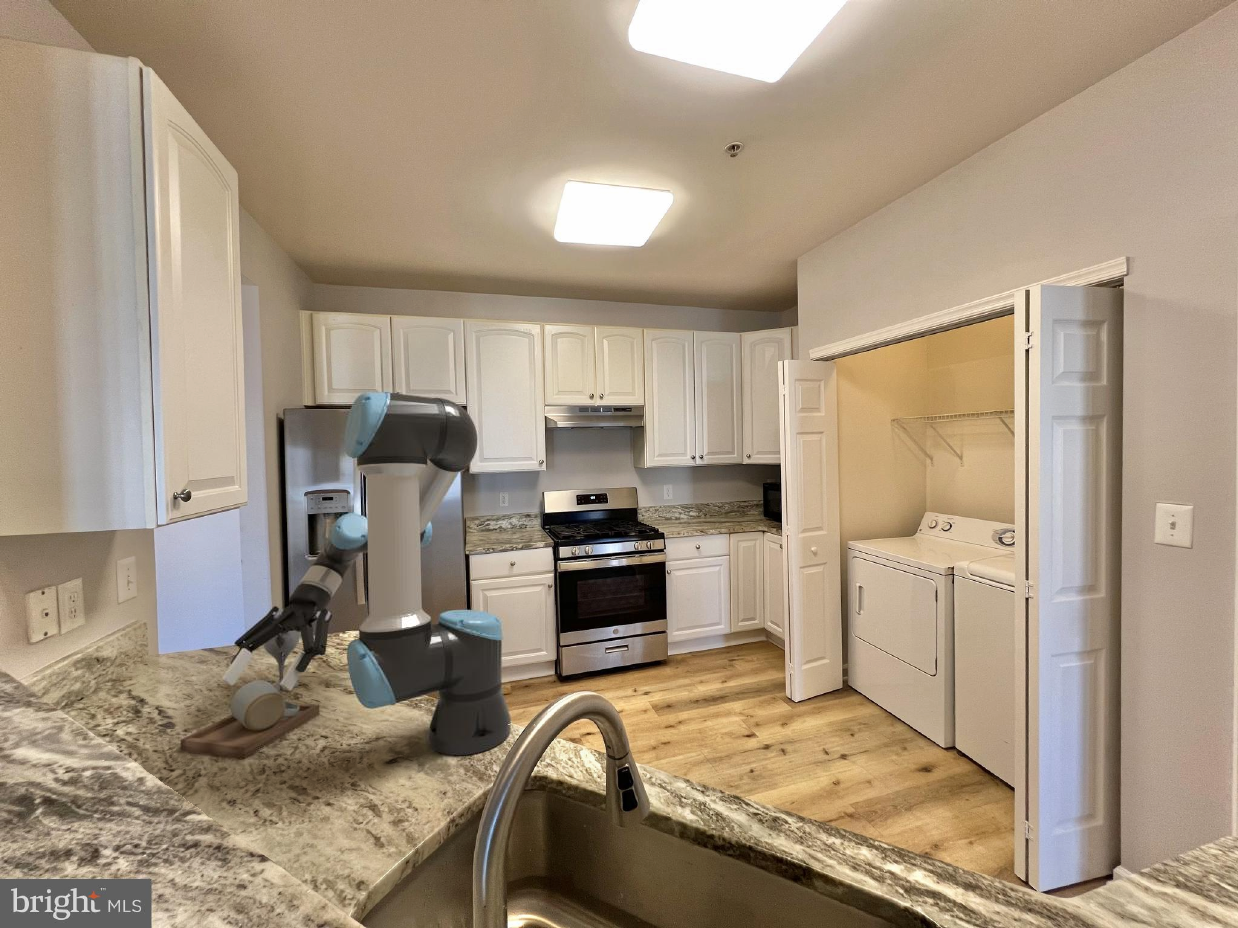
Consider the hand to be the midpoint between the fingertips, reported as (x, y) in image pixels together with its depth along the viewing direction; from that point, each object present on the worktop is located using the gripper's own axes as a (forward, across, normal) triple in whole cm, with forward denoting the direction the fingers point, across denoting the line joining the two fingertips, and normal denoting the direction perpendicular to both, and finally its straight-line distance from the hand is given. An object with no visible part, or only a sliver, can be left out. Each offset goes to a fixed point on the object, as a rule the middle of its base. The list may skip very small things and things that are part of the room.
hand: (255, 685), depth 100 cm
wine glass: (-7, +12, -20) cm, 24 cm away
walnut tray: (+7, 0, -6) cm, 9 cm away
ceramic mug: (+5, -1, -7) cm, 8 cm away
